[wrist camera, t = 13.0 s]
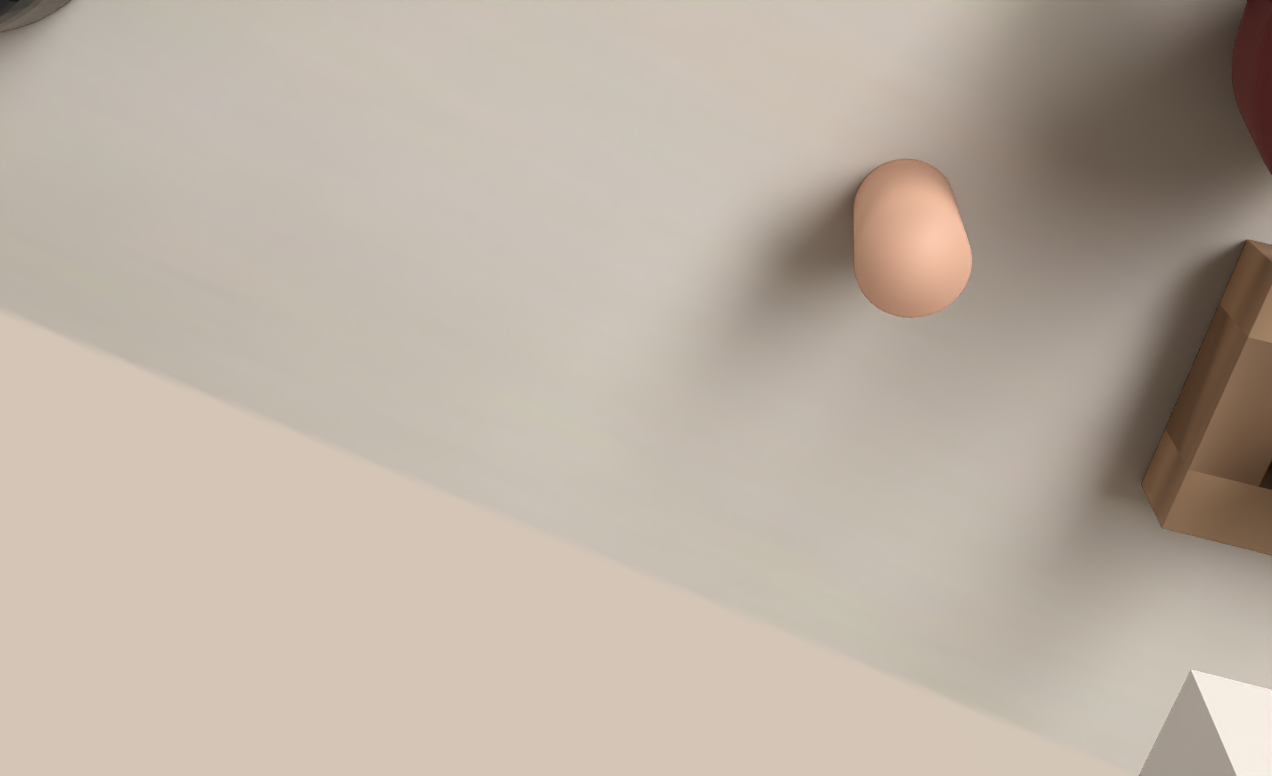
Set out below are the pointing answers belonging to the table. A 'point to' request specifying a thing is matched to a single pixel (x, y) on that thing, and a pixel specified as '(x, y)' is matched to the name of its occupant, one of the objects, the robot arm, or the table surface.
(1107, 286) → the table surface
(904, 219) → the short peg
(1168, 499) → the socket block
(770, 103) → the table surface
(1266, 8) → the mug
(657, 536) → the table surface
